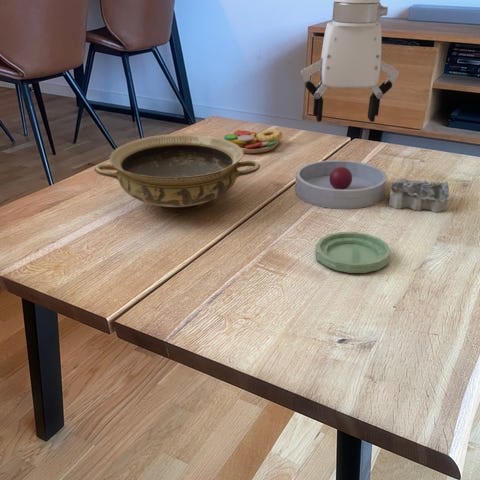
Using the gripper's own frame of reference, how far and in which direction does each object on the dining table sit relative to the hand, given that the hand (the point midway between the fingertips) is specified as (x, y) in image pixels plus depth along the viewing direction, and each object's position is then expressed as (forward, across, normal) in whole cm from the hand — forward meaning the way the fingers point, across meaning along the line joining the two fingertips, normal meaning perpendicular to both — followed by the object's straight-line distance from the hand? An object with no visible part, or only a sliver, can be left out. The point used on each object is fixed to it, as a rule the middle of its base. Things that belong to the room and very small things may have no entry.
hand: (344, 119), depth 102 cm
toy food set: (+14, +17, -30) cm, 37 cm away
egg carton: (+14, -14, +7) cm, 21 cm away
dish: (+14, 0, 0) cm, 14 cm away
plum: (+11, 0, 0) cm, 11 cm away
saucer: (+14, +2, +28) cm, 31 cm away
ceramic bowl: (+14, +31, +6) cm, 34 cm away
